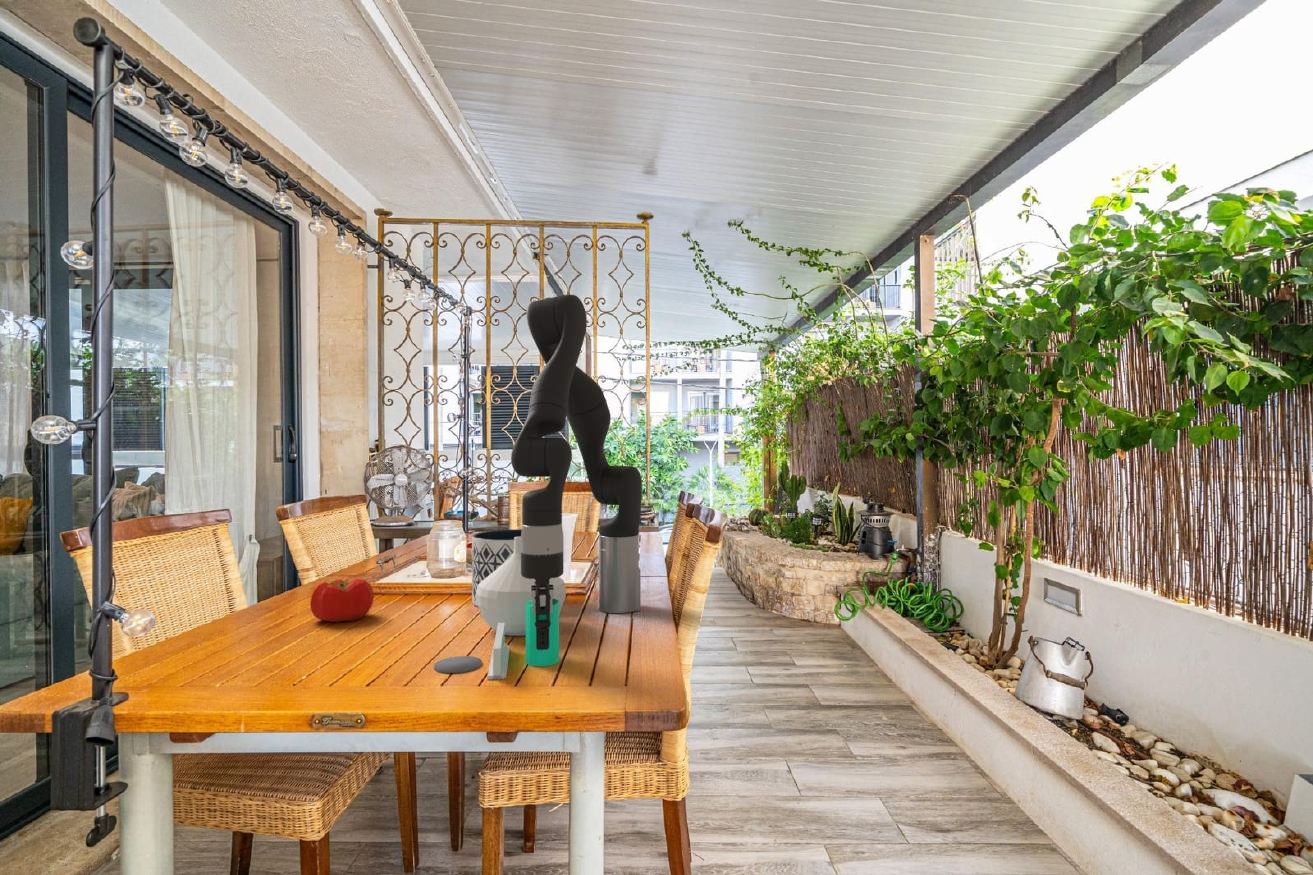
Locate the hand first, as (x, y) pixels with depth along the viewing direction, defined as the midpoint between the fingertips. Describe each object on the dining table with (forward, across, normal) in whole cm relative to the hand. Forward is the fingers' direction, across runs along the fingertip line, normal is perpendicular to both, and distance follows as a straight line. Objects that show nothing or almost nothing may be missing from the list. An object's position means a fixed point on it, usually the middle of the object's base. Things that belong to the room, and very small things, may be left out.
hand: (542, 643), depth 121 cm
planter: (+3, +46, +7) cm, 46 cm away
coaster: (+3, 0, +14) cm, 15 cm away
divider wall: (+3, 0, +8) cm, 8 cm away
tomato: (+3, +37, +43) cm, 57 cm away
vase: (+3, +21, +4) cm, 21 cm away
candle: (+3, 0, 0) cm, 3 cm away
